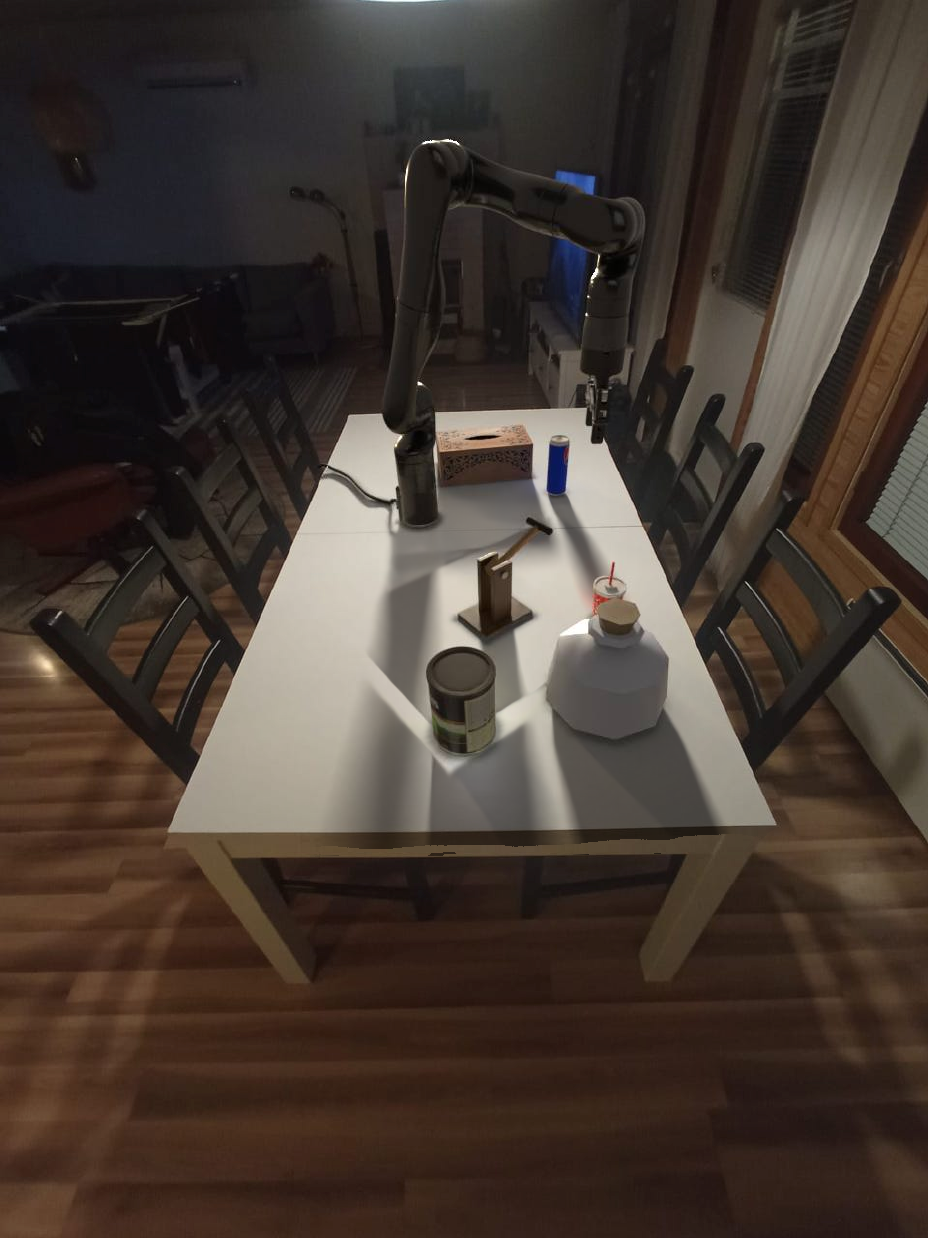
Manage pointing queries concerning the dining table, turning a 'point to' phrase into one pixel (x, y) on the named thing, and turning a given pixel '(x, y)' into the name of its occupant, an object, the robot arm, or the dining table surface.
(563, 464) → the beverage can
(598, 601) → the beverage cup
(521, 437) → the tissue box cover
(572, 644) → the bottle
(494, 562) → the wooden lever handle
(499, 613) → the lever base
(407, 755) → the dining table surface
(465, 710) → the coffee can
